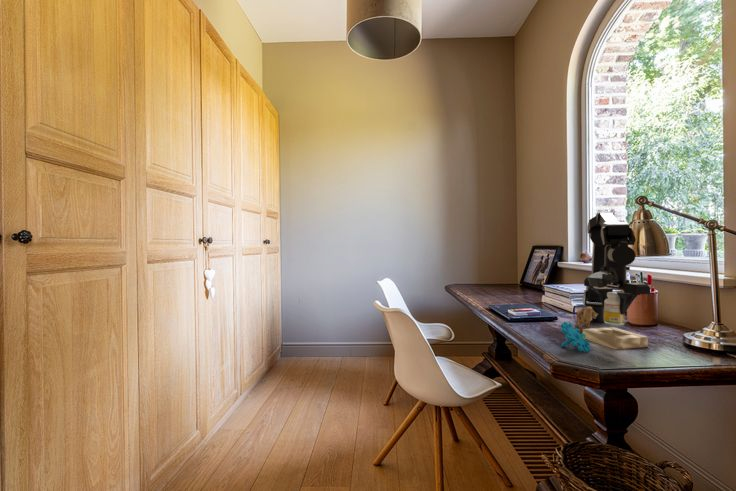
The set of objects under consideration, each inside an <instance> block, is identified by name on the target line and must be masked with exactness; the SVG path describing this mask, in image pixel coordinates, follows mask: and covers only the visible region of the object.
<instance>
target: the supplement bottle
mask: <svg viewBox="0 0 736 491" xmlns="http://www.w3.org/2000/svg"><path fill="white" fill-rule="evenodd" d="M617 293H618V292H616V291H615V292H614V291H613V292H607V297H608V299H605V301H604V322H603V323H605V324H607V325H612V326H624V325H625V316H626V313H625V314H624V315H622V314H621V313H620V297H619V296H618V294H617Z"/></svg>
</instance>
